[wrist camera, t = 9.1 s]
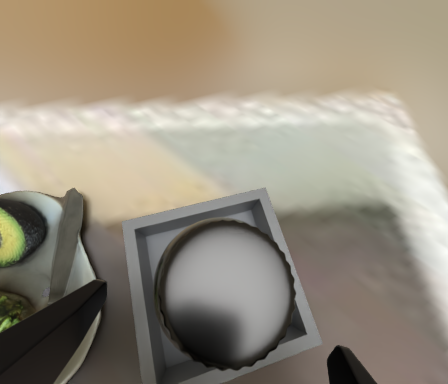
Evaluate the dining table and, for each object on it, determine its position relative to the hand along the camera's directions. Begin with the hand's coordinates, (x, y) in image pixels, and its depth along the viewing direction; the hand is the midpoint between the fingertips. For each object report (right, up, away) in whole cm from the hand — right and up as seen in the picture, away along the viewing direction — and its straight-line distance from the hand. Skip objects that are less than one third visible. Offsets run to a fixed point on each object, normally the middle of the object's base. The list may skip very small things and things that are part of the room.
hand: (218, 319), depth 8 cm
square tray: (-1, -3, +11) cm, 11 cm away
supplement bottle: (-1, -3, +10) cm, 11 cm away
